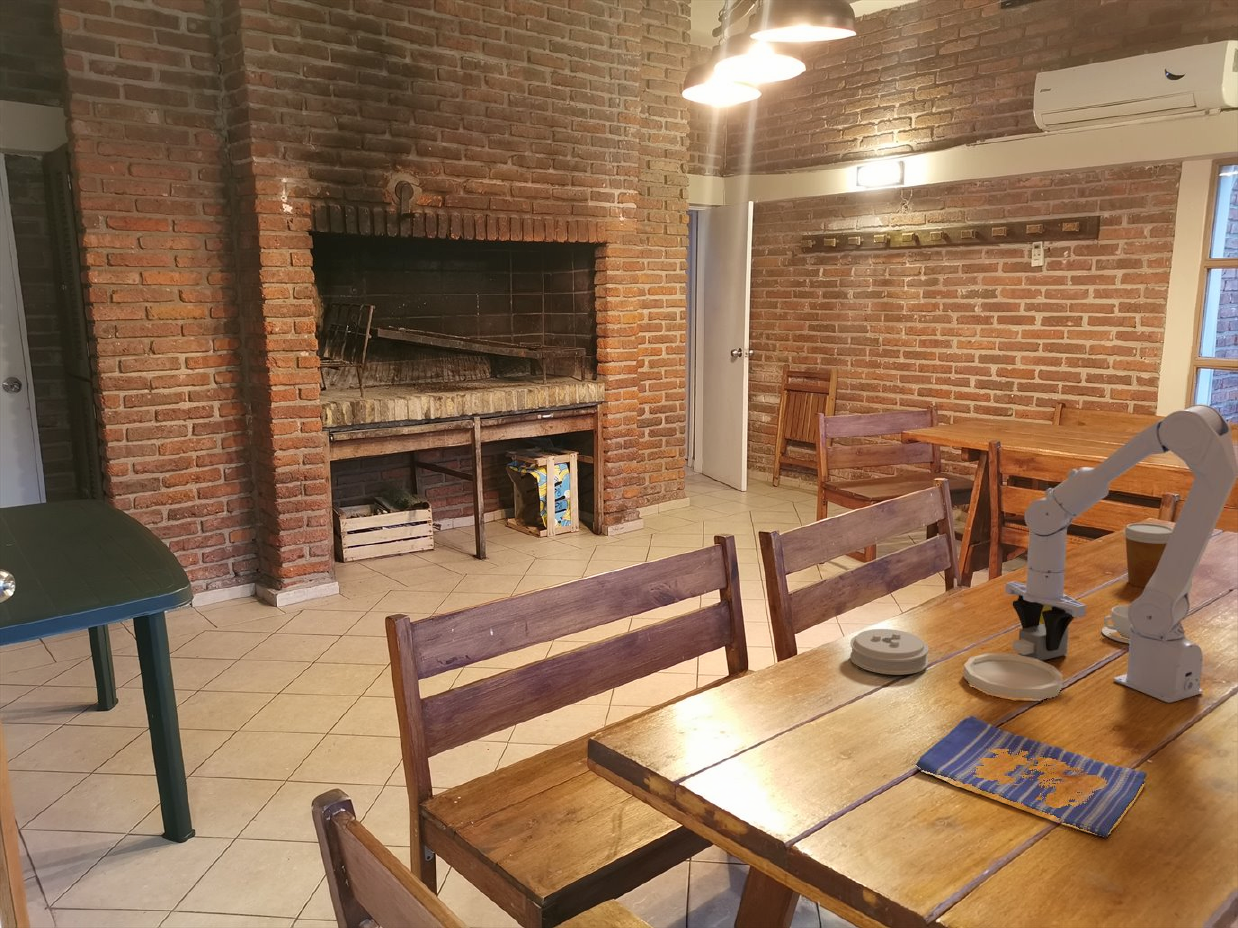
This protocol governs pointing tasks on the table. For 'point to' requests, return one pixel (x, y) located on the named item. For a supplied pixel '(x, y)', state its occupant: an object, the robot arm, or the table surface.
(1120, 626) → the teacup
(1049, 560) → the robot arm
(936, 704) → the table surface
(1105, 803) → the dish towel
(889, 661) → the lid
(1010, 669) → the plate
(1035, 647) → the connector
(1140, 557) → the disposable coffee cup
